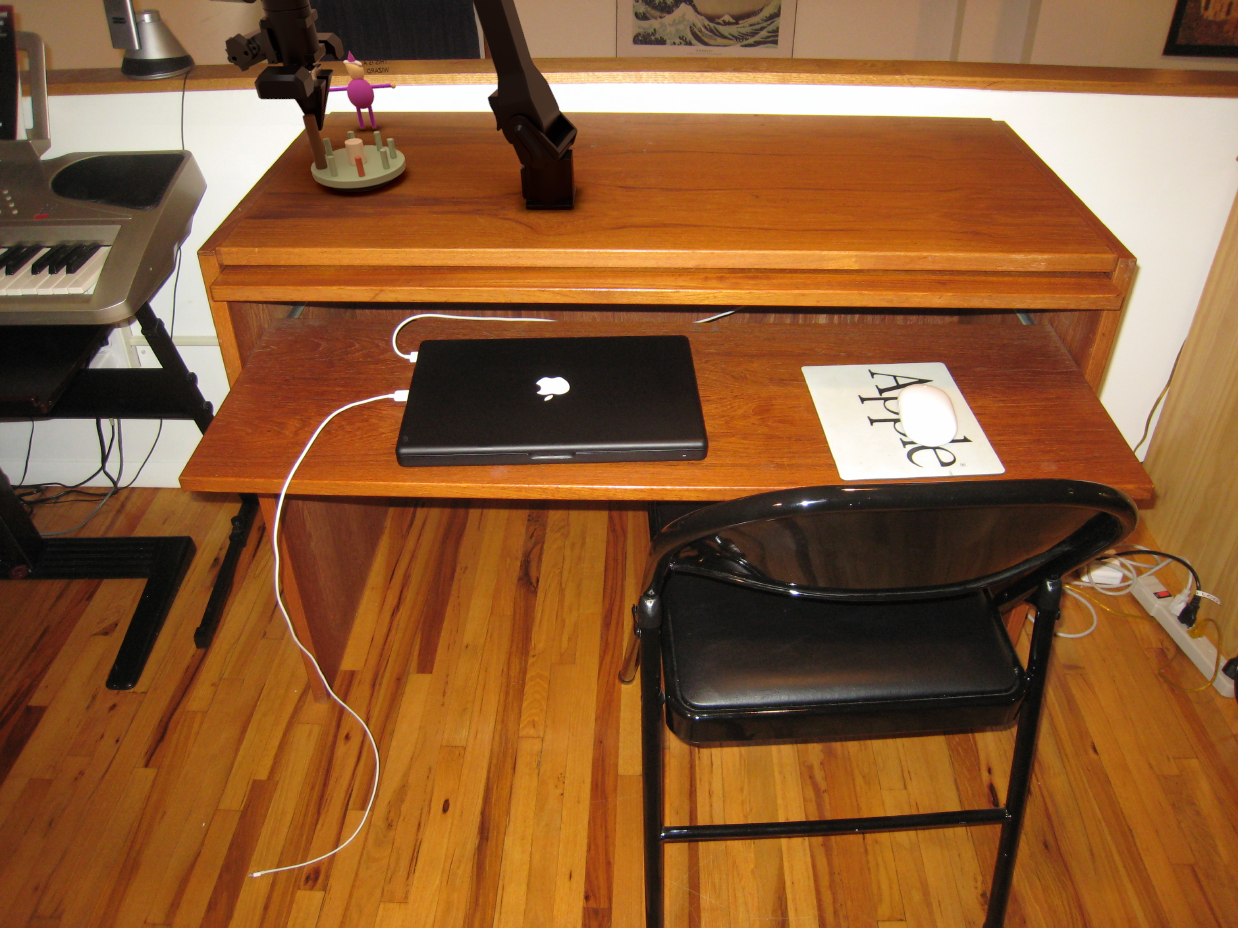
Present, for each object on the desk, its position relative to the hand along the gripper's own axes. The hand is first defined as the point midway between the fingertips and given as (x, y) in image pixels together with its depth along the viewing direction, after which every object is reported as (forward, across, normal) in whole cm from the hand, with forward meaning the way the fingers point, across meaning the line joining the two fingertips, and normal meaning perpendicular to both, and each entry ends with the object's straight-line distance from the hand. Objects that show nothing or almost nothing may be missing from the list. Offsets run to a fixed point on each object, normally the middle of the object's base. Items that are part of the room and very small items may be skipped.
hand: (318, 130), depth 114 cm
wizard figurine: (+7, -18, +1) cm, 19 cm away
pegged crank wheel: (+5, +1, +5) cm, 7 cm away
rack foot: (+7, +1, +5) cm, 8 cm away
